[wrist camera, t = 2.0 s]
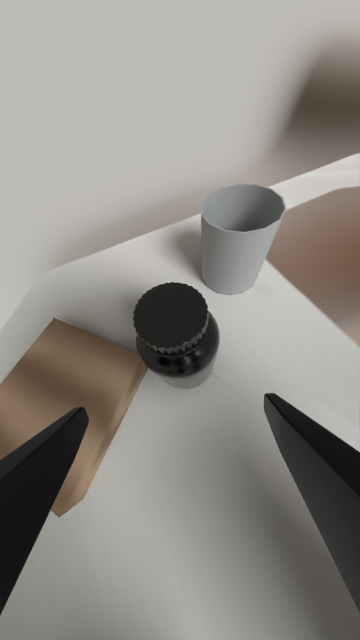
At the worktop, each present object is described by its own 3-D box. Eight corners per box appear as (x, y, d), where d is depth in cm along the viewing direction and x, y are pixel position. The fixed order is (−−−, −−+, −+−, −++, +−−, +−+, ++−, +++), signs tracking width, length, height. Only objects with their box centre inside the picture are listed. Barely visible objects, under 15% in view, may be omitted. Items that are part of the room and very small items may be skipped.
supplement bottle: (206, 397, 19) (210, 386, 8) (150, 379, 20) (94, 350, 10) (218, 341, 22) (234, 278, 11) (169, 329, 23) (140, 263, 13)
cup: (190, 276, 27) (184, 213, 18) (222, 246, 29) (231, 177, 20) (235, 305, 24) (255, 244, 15) (268, 269, 26) (302, 197, 17)
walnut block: (82, 499, 16) (59, 517, 13) (-6, 428, 20) (-38, 431, 17) (150, 362, 21) (143, 356, 19) (69, 327, 25) (54, 317, 23)
